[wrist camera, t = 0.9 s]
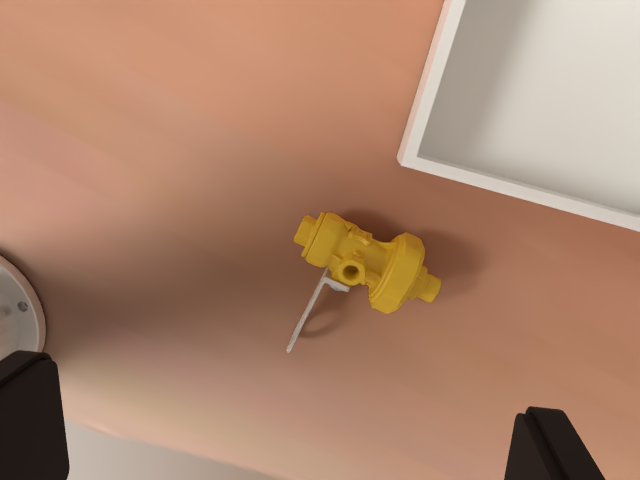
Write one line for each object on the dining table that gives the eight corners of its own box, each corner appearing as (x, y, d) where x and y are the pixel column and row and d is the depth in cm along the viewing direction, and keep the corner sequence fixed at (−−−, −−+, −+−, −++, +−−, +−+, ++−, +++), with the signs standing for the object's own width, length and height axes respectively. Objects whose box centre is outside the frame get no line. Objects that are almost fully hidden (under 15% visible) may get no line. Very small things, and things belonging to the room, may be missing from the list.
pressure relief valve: (320, 182, 32) (451, 243, 33) (262, 311, 38) (375, 363, 38) (305, 210, 28) (459, 282, 28) (241, 353, 33) (371, 413, 33)
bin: (647, 227, 31) (698, 247, 26) (396, 157, 32) (400, 165, 27) (749, 15, 28) (829, -6, 23) (462, -60, 28) (481, -96, 23)
